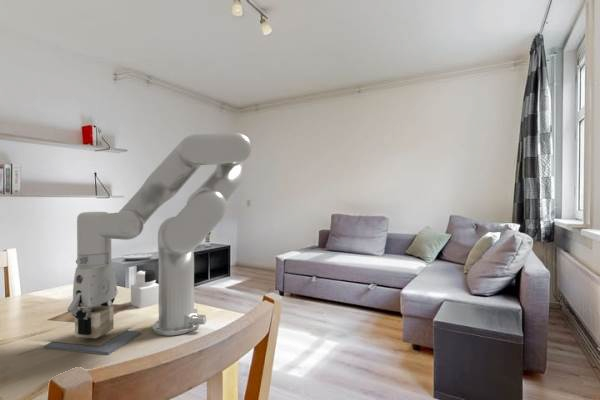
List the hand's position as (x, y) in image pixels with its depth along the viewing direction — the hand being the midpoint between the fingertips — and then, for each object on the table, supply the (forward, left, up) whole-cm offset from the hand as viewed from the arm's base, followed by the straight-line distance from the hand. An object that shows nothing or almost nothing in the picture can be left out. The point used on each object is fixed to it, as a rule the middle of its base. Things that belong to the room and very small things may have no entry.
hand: (95, 328), depth 86 cm
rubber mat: (0, 0, -3) cm, 3 cm away
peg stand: (+15, -16, -3) cm, 22 cm away
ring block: (0, 0, -1) cm, 1 cm away
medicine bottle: (+4, -27, -3) cm, 27 cm away
